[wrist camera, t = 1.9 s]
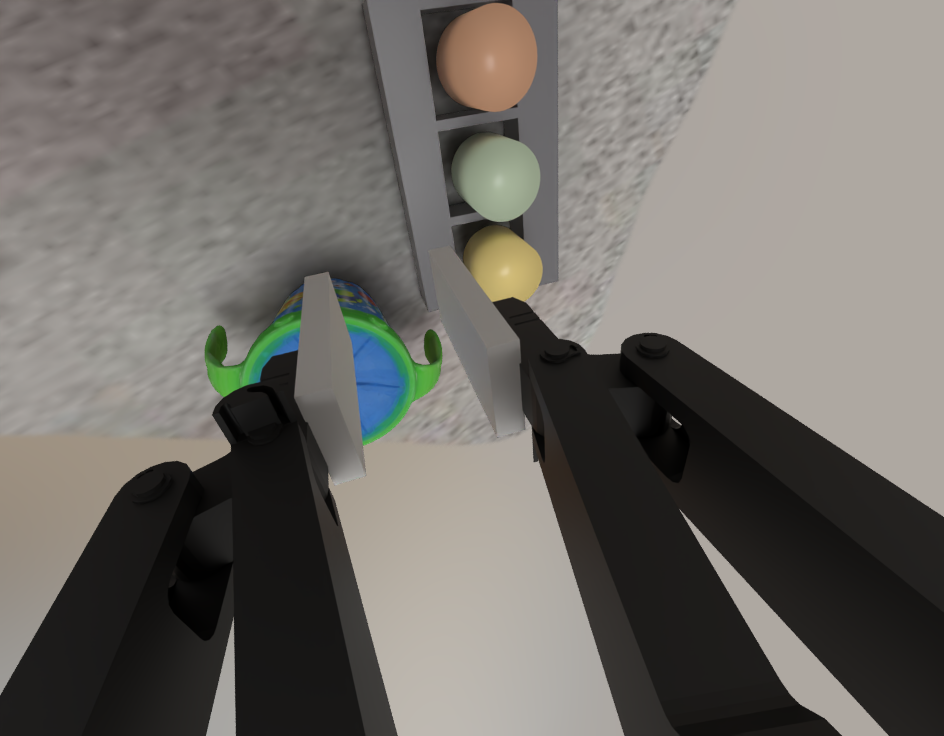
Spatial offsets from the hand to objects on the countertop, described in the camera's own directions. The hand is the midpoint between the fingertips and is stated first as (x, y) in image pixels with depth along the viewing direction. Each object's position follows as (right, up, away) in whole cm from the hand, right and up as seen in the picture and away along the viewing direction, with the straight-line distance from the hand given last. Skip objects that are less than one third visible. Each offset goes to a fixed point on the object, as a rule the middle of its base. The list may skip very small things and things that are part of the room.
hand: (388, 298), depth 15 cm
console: (+3, +13, +17) cm, 21 cm away
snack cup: (-9, +2, +21) cm, 22 cm away
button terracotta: (+3, +16, +11) cm, 19 cm away
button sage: (+4, +11, +14) cm, 18 cm away
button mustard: (+4, +6, +18) cm, 19 cm away
